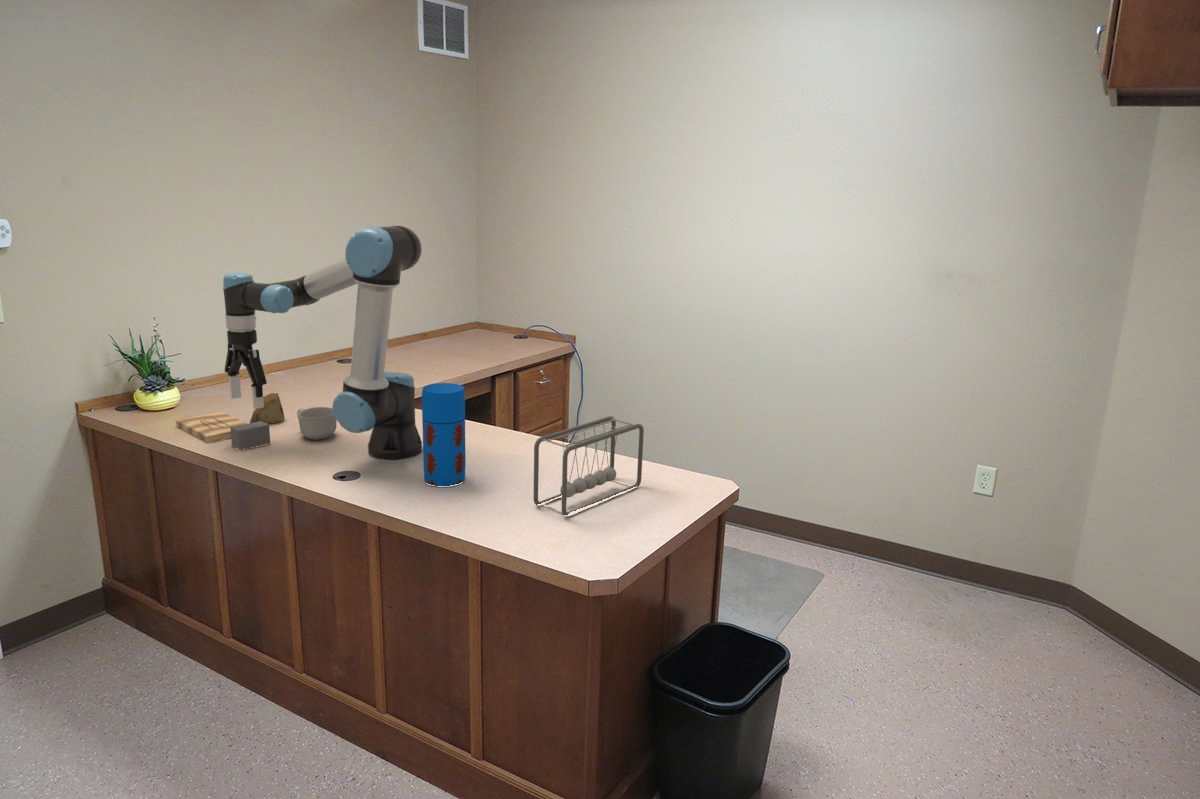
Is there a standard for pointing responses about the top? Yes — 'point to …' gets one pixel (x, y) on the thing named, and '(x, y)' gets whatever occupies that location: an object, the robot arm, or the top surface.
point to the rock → (269, 410)
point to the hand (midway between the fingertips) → (247, 402)
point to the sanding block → (250, 435)
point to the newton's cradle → (599, 476)
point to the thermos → (443, 433)
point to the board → (210, 426)
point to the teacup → (317, 422)
